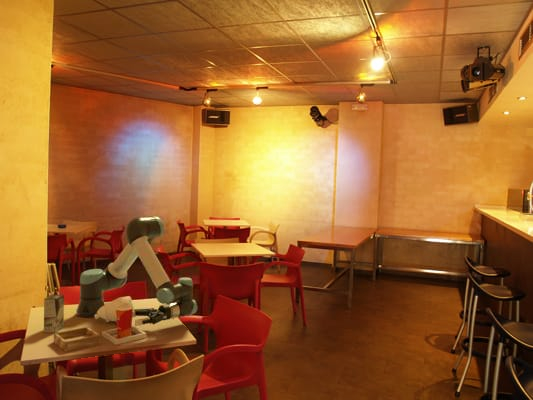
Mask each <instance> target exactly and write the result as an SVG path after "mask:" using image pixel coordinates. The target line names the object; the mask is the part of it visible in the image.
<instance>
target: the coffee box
mask: <svg viewBox="0 0 533 400" xmlns="http://www.w3.org/2000/svg"><path fill="white" fill-rule="evenodd" d="M64 316H65V294H50V295H49V296H47V297H45V298H44V299H43V333H57V332H60V330H62V329H63V328H64V325H65V324H64V323H65V317H64Z"/></svg>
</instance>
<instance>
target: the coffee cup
mask: <svg viewBox="0 0 533 400" xmlns="http://www.w3.org/2000/svg"><path fill="white" fill-rule="evenodd" d="M132 304H133V303H132ZM132 304H131V303H128V304H127V303H125V304H124V303H121V304H118V305H116V308H115V309H116V319H117V322H116V328H117V333H116V335H117V339H120V338H124V337H129V336H132V330H131V327H132V326H133V319H132V313H133V311H134V308H135V307H134V306H133V305H132Z"/></svg>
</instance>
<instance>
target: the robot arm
mask: <svg viewBox="0 0 533 400" xmlns="http://www.w3.org/2000/svg"><path fill="white" fill-rule="evenodd" d="M164 232H165V223H164V221H163V220H162V218H160V217H158V216H154V215H151V216H142V217H133V218H132V219H131V220H129V221H128V223H127V224H126V227H125V237H126V241H127V244H126V245H125V247H124V248H123V249H122V251H121V252H120V254H119V255H118V257H117V258H116V259H115V260H114V262H110V263H109V264H108V265H107V267H106V268H105V269H101V268H93V269H92V268H91V269H88V270H85V271H83V272H81V273H80V276H79V277H80V278H79V279H80V280H79V289H80V290H79V294H80V295H79V302H78V306H77V309H76V316H77V317H81V318H95V314H97V311H98V310H99V309H100V308H101V307H102V306H104V305H105V303H106V302H105V301H104V292H108V291H111V290H117V289H119V288H122V287H123V286H124V285H125V284H126V282H127V280H128V270H129V269H130V267H131V266H132V265H133V263H134V262H135V261H136V260H137V258H139V260H140V261H141V263H142V265H143V267H144V268H145V271H146V272H147V274H148V275H149V277H150V280H151V281H152V283H153V284H154V286H155V288H156V289H157V291H156V300H157V301H158V302H159V303H160V304H161V305H159V307H158V308H154V307H150V308H135V309H134V308H133V313H132V317H133V318H136V317H143V318H140V319H135V320H134V327H138V326H139V327H140V326H143V325H144V326H145V325H148V324H150V325H151V324H152V325H156V324H158V323H160V322H163V321H168V320H171V319H172V320H175V319H177V318H181V317H186V316H190V315H194V314H196V312H197V311H198V303H197V300H195V299H193V288H194V284H193V283H194V282H193V279H192V278H190V277H185V276H184V277H179V278H178V280H177V283H175V284H173V282H172V281H171V279H170V277H169V275H168V274H167V273H166V270H165V269H164V268H163V265H162V264H161V262H160V260H159V259H158V257H157V255H156V253H155V252H154V249H153V248H152V246H151V245H152V243H153V242H154V241H155V239H157V238H160V237H162V236H163V235H164ZM176 300H177V302H175V301H176ZM144 317H145V318H144Z"/></svg>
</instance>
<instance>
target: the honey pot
mask: <svg viewBox="0 0 533 400" xmlns="http://www.w3.org/2000/svg"><path fill="white" fill-rule="evenodd" d="M104 303H105V305H104V306H102V307H101V308H100V309H99V310H98V311H97V314H95V317H94V320H98V319H99V318H101V319H103V320H105V322H106V323H109V322H111V321H112V322H113V323H114V322H115V323H117V319H116V309H115V308H116V305H118V304H121V303H124V304H125V303H127V304H128V303H131V304H132V305H133V300H132V297H131V296H129V295H128V296H120V297H117V298H115V299H114V300H113V299H112V300H111V301H109V302H104ZM133 318H134V317H132V320H133Z"/></svg>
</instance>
